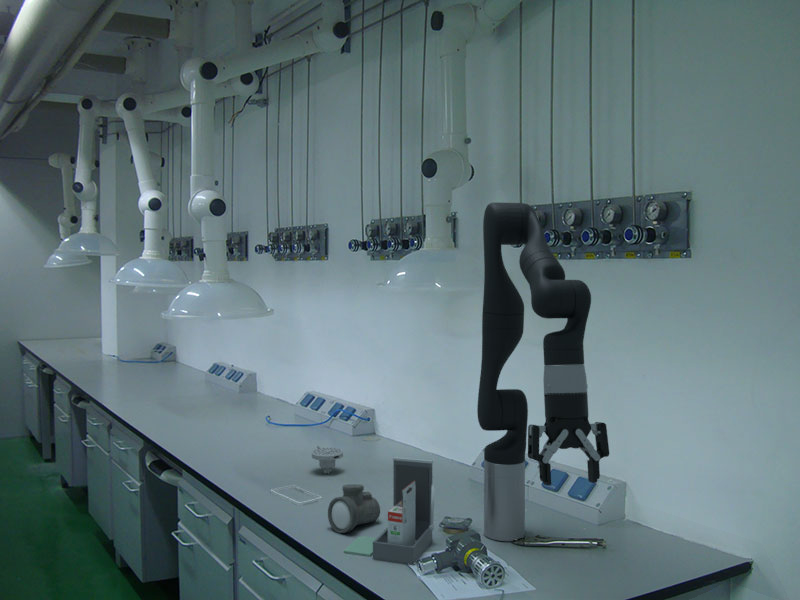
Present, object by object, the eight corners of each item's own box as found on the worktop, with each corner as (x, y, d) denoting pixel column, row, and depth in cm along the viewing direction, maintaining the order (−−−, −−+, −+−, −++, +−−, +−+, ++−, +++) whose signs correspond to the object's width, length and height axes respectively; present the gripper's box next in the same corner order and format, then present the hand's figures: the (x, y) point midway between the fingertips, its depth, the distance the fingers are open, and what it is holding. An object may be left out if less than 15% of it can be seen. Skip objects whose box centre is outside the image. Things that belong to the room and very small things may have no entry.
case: (393, 535, 154) (393, 457, 154) (435, 541, 151) (435, 460, 151) (372, 558, 142) (372, 473, 141) (417, 565, 138) (417, 477, 138)
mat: (359, 537, 153) (359, 535, 153) (384, 540, 151) (384, 539, 151) (343, 552, 145) (343, 550, 145) (370, 556, 143) (370, 554, 143)
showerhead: (329, 443, 213) (349, 449, 205) (330, 466, 213) (349, 472, 205) (304, 448, 206) (323, 454, 199) (304, 471, 207) (323, 478, 199)
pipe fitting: (349, 536, 153) (350, 489, 154) (325, 530, 158) (326, 485, 159) (386, 528, 162) (386, 484, 163) (362, 523, 167) (363, 480, 168)
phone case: (269, 494, 186) (299, 508, 175) (269, 489, 186) (299, 502, 175) (292, 489, 191) (323, 502, 180) (292, 484, 191) (322, 496, 180)
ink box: (386, 557, 142) (386, 488, 142) (400, 543, 150) (400, 478, 149) (402, 560, 141) (402, 490, 141) (416, 546, 148) (416, 480, 148)
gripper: (593, 389, 126) (598, 478, 124) (520, 391, 124) (524, 482, 122) (612, 389, 119) (618, 484, 117) (534, 392, 116) (539, 489, 114)
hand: (570, 483), depth 119 cm, fingers open, 8 cm apart
